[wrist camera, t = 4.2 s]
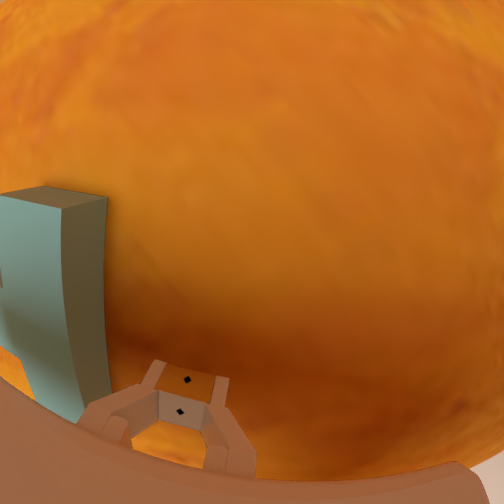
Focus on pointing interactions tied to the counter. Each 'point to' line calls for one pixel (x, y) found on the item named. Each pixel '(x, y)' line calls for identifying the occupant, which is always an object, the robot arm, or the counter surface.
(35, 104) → the counter surface
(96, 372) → the teal T block
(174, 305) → the counter surface
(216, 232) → the counter surface
